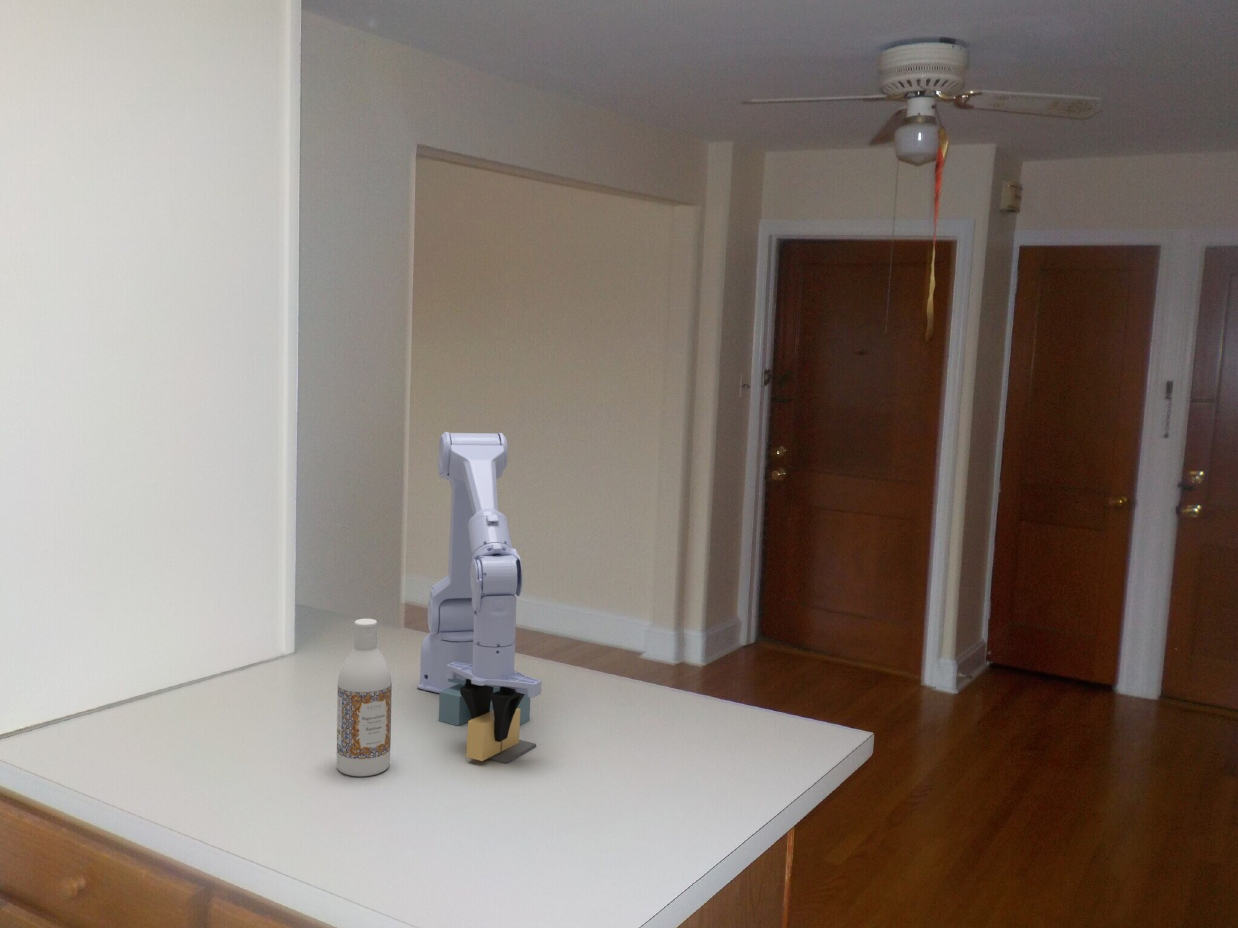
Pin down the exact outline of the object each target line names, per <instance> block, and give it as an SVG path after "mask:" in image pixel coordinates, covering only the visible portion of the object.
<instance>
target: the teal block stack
mask: <svg viewBox="0 0 1238 928" xmlns="http://www.w3.org/2000/svg"><path fill="white" fill-rule="evenodd" d="M448 681H449V682H453V683H457V684H456V685H454V686H452V687H450V688H447V689H445V690H443V691H440V692H439V693H438V694H439V696H438V697H439V699H438V721H439V722H441V723H446V724H451V725H454V726H457V727H458V726H461V725H463V724H466V723H468V721H469V720H472V718H471V714H470V711H469V709H468V706H467V704H466V702H465V700H464V698H463V697H462V695H461V694H460V688H461V687H463V686H465V684H466V681H465V680H461V679H457V678H454V679H448ZM498 691H500V688H496V687H494V689H493V693H495V692H498ZM493 693H492V694H493ZM517 708H519V709H521V711H520V726H522V725H523V724H525V723H528V722H529V721H530V718H531V717H530V716H531V714H530V713H531V697H528V696H527V694H525V695H524V697H523V698H522V700H521V701H520V703H519V705H518V707H517ZM491 711H493V705H492V702H491V704H490V712H491Z"/></svg>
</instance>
